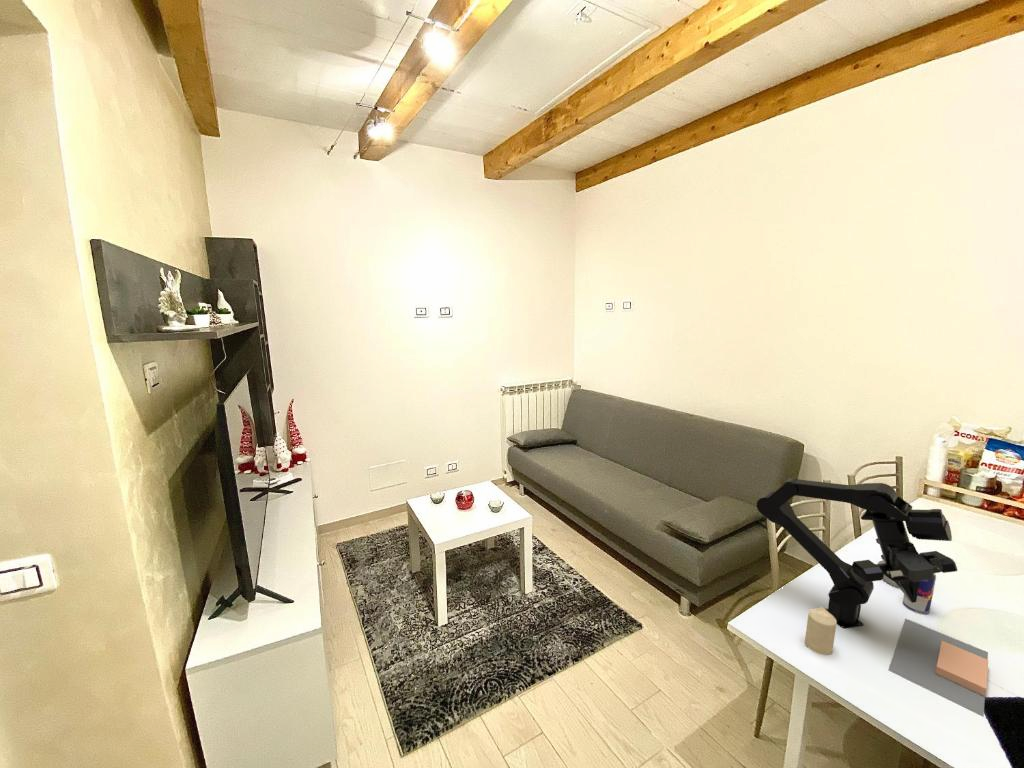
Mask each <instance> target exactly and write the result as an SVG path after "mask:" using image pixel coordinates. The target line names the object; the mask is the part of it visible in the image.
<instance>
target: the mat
mask: <svg viewBox="0 0 1024 768" xmlns="http://www.w3.org/2000/svg"><path fill="white" fill-rule="evenodd" d="M942 641H944V642H946V643H949V644H951V645H954V646H956V647H958V648H961V649H963V650H966V651H968V652H970V653H973V654H975V655H978V656H980V657H982V658H985V659H987V660H988V661H989V659H988V658H989V657H988V656H989V652H988V651H986V650H984V649H981V648H979V647H976V646H973V645H971V644H969V643H966V642H964V641H961V640H959V639H957V638H954V637H952V636H949V635H947V634H946V633H945V634H944V633H942V632H939V631H937V630H935V629H932V628H930V627H927V626H925V625H923V624H921V623H917V622H915V621H913V620H911V619H908V618H904V621H903V624H902V627H901V630H900V633H899V637H898V640H897V642H896V647H895V649H894V652H893V655H892V658H891V662H890V664H889V667H888V672H891V673H893V674H895V675H897V676H899V677H901V678H903V679H905V680H907V681H909V682H911V683H913V684H915V685H917V686H919V687H922V688H923V689H926V690H928V691H929V692H932V693H934V694H936V695H938V696H940V697H942V698H944V699H945V700H948V701H950V702H952V703H955V704H956V705H958V706H961V707H962V708H964V709H965V710H968V711H971V712H973V713H975V714H976V715H978V716H981V717H982V718H984V715H985V704H986V703H985V701H986V695H985V696H983V695H980V694H978V693H976V692H974V691H972V690H970V689H968V688H965V687H963V686H961V685H959V684H957V683H955V682H952V681H950V680H948V679H946V678H944V677H942V676H940V675H937V674H936V673H935V672H936V667H937V662H938V657H939V652H940V647H941V643H942Z"/></svg>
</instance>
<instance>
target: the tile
mask: <svg viewBox="0 0 1024 768" xmlns="http://www.w3.org/2000/svg"><path fill="white" fill-rule="evenodd" d="M988 672H989V659H988V660H987V659H985V658H982V657H980V656H978V655H975V654H973V653H970V652H968V651H966V650H963V649H961V648H958V647H956V646H954V645H951V644H949V643H946V642H944V641H942V643H941V647H940V652H939V657H938V662H937V667H936V672H935V673H936V674H937V675H940V676H942V677H944V678H946V679H948V680H950V681H952V682H955V683H957V684H959V685H961V686H963V687H965V688H968V689H970V690H972V691H974V692H976V693H978V694H980V695H983V696H985V697H986V694H987V688H988V687H987V686H988V674H989V673H988Z"/></svg>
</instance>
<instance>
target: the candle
mask: <svg viewBox="0 0 1024 768" xmlns="http://www.w3.org/2000/svg"><path fill="white" fill-rule="evenodd" d="M826 609H827V608H824V607H817V608H816V607H815V608H811V609H809V610H808V615H807V623H806V630H805V638H804V639H805V640H804V643H805V646H806V647H807V648H809V649H810V650H811V651H812V652H815V653H816V654H818V655H822V656H829V655H832V654H833V649H834V643H835V638H836V629H837V625H838V624H837V621H836V619H835V618H834V616H833V615H831V614H830V613H829V612H828V611H827V610H826Z"/></svg>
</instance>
